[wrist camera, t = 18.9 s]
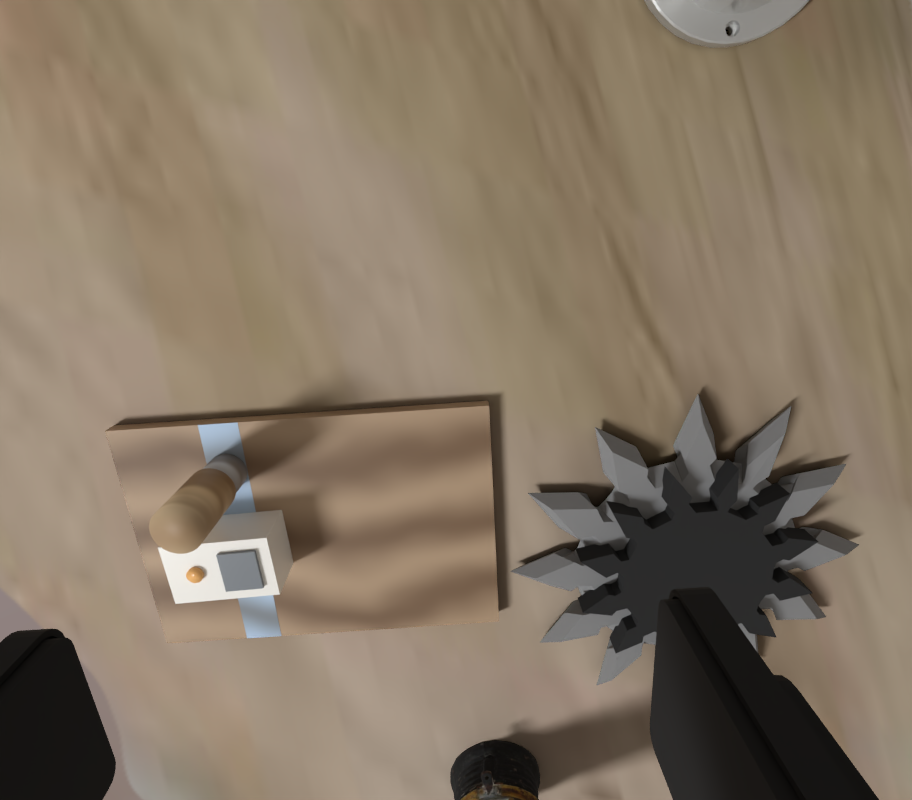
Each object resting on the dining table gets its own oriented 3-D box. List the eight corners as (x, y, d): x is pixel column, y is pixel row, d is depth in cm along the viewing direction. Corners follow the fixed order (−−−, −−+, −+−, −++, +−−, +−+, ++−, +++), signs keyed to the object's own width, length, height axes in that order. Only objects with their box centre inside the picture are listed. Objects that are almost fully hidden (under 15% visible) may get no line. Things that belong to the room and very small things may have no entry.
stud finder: (182, 518, 44) (155, 550, 40) (281, 509, 44) (265, 540, 40) (197, 571, 46) (173, 606, 41) (293, 562, 45) (278, 597, 41)
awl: (201, 452, 42) (143, 508, 34) (245, 449, 42) (198, 504, 34) (210, 492, 43) (156, 555, 35) (253, 489, 43) (208, 552, 35)
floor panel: (114, 425, 42) (104, 431, 41) (488, 400, 42) (489, 405, 41) (173, 633, 49) (167, 643, 48) (497, 611, 49) (499, 621, 48)
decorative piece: (745, 759, 51) (449, 655, 46) (724, 722, 54) (449, 621, 50) (971, 494, 42) (635, 332, 37) (928, 471, 46) (618, 321, 41)
